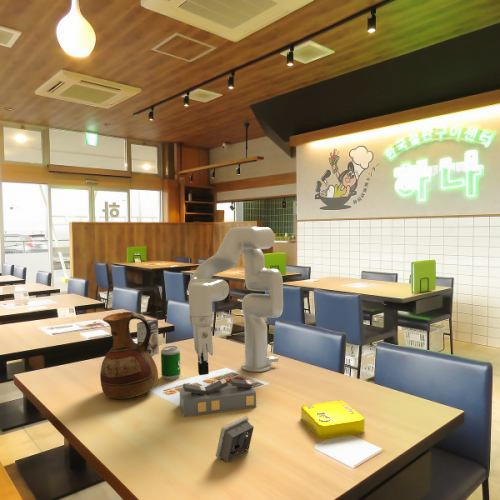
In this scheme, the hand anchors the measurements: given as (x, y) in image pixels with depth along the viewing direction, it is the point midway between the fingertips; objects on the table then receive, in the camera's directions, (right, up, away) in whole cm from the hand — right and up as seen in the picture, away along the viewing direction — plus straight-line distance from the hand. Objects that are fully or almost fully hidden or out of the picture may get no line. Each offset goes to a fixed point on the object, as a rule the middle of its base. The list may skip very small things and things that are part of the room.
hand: (203, 373), depth 141 cm
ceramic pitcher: (-28, -11, +13) cm, 33 cm away
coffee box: (-33, -9, +61) cm, 70 cm away
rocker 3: (+12, -5, +3) cm, 14 cm away
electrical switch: (+12, -13, -30) cm, 35 cm away
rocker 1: (-3, -6, -1) cm, 7 cm away
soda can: (-16, -10, +29) cm, 35 cm away
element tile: (+40, -12, -14) cm, 44 cm away
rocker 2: (+5, -5, +1) cm, 7 cm away
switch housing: (+5, -11, +1) cm, 12 cm away
